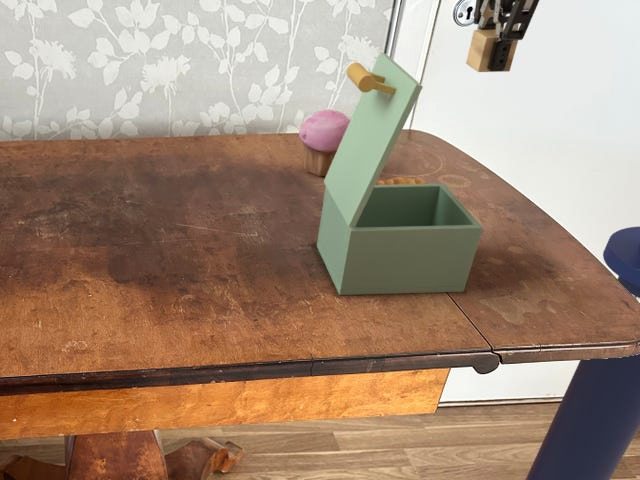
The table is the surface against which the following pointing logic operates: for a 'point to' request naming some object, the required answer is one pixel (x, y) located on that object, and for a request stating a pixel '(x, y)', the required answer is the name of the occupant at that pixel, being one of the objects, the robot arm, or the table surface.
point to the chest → (400, 242)
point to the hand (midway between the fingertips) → (487, 64)
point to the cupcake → (322, 139)
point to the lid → (370, 133)
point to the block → (485, 51)
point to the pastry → (400, 181)
